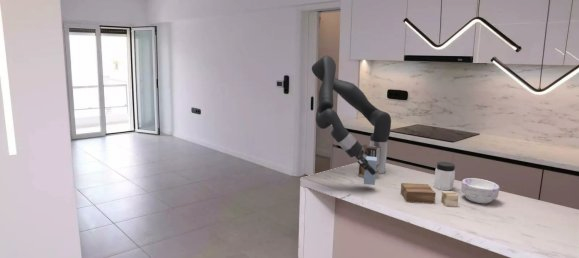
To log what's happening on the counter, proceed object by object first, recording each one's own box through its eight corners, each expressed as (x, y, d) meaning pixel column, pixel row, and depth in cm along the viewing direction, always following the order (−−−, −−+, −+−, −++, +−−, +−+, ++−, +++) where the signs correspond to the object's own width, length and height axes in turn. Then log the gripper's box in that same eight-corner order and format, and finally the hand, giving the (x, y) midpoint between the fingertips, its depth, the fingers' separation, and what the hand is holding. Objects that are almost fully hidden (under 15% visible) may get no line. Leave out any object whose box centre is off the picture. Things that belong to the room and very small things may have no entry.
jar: (447, 191, 189) (450, 167, 187) (431, 187, 195) (433, 163, 193) (455, 188, 195) (458, 164, 193) (439, 183, 201) (442, 160, 199)
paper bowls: (501, 207, 171) (504, 190, 170) (464, 204, 174) (466, 186, 173) (491, 195, 186) (493, 179, 184) (457, 192, 189) (458, 176, 187)
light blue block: (363, 179, 192) (365, 156, 188) (374, 180, 191) (376, 157, 188) (363, 183, 187) (365, 159, 184) (374, 185, 186) (376, 160, 183)
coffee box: (379, 176, 209) (381, 146, 207) (374, 179, 204) (377, 148, 201) (362, 173, 214) (364, 144, 211) (357, 176, 209) (360, 146, 206)
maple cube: (441, 202, 175) (442, 191, 175) (452, 202, 176) (453, 191, 175) (445, 206, 171) (447, 195, 170) (457, 206, 171) (458, 195, 170)
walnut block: (400, 193, 186) (401, 183, 185) (426, 194, 185) (427, 184, 184) (406, 202, 174) (407, 191, 173) (434, 204, 174) (435, 193, 173)
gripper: (345, 145, 194) (368, 170, 195) (342, 154, 180) (367, 182, 182) (357, 135, 191) (380, 161, 193) (355, 144, 178) (380, 172, 179)
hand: (374, 171), depth 187 cm, fingers closed on light blue block, 5 cm apart
